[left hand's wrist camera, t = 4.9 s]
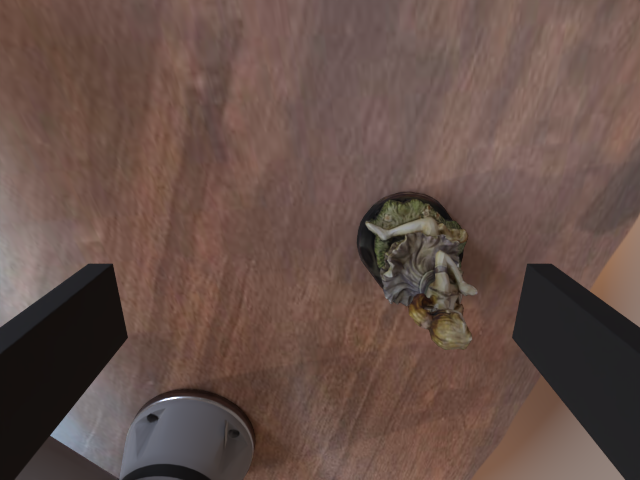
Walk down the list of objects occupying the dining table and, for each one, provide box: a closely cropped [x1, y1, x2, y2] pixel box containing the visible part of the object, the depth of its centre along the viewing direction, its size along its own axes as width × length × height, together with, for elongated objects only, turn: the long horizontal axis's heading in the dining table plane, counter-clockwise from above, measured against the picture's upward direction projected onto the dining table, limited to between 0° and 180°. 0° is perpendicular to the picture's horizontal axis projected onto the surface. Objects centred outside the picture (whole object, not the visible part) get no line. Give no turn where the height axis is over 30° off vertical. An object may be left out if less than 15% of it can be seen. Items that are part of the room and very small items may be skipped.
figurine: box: [357, 192, 477, 350], centre depth 33 cm, size 12×11×15 cm
